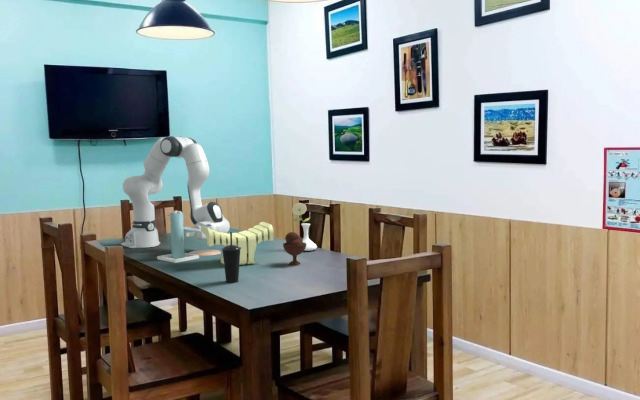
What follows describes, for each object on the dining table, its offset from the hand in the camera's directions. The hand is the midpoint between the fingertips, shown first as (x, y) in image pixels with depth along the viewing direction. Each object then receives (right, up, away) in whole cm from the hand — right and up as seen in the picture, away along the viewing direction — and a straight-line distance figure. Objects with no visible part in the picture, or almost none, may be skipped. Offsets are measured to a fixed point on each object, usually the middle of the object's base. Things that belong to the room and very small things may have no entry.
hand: (179, 233), depth 278 cm
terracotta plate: (+9, -11, +15) cm, 21 cm away
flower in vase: (+60, -10, +23) cm, 65 cm away
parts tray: (-1, -13, 0) cm, 13 cm away
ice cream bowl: (+56, -13, -13) cm, 59 cm away
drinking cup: (+32, -17, -46) cm, 59 cm away
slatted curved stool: (+29, -13, -9) cm, 33 cm away
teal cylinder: (-1, -12, 0) cm, 12 cm away
